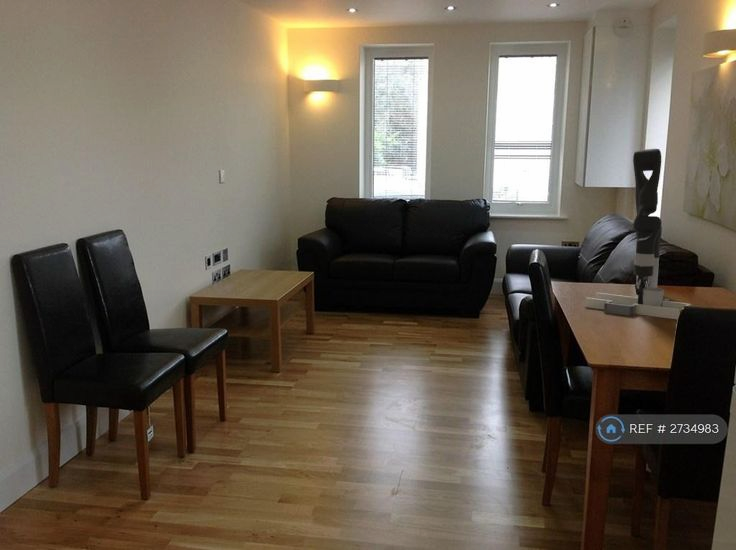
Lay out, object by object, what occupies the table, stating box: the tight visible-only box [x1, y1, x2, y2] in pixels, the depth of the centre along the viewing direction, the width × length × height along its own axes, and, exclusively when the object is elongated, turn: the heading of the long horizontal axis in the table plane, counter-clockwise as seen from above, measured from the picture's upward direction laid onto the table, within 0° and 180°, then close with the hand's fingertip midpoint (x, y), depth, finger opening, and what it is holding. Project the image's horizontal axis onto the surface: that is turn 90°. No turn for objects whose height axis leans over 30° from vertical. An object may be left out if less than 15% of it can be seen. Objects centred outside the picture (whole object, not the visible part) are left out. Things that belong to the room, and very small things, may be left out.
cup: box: [643, 287, 665, 307], centre depth 267 cm, size 8×8×10 cm
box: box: [584, 292, 692, 320], centre depth 273 cm, size 25×39×4 cm, turn 52°
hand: (640, 304), depth 272 cm, fingers closed
